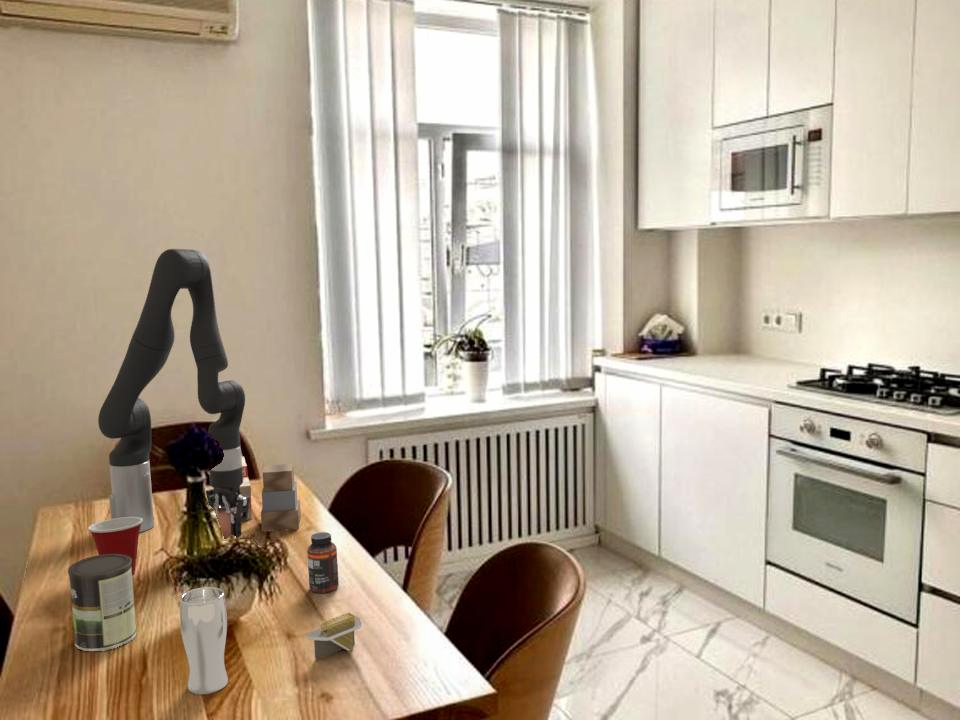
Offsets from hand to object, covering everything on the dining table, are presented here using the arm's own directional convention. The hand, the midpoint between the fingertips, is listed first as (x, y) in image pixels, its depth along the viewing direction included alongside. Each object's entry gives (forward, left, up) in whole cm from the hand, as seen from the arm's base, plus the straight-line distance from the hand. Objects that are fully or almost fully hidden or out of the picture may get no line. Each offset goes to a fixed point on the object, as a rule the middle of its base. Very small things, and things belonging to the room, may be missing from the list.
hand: (229, 534), depth 194 cm
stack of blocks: (-2, +27, -2) cm, 27 cm away
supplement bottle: (+23, -32, -2) cm, 40 cm away
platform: (+27, -61, -3) cm, 66 cm away
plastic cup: (-21, -16, -2) cm, 26 cm away
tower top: (+11, +11, +8) cm, 17 cm away
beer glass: (+6, -67, -2) cm, 67 cm away
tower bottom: (+11, +11, -2) cm, 16 cm away
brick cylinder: (0, 0, 0) cm, 0 cm away
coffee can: (-15, -47, -2) cm, 49 cm away
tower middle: (+11, +11, +3) cm, 16 cm away
